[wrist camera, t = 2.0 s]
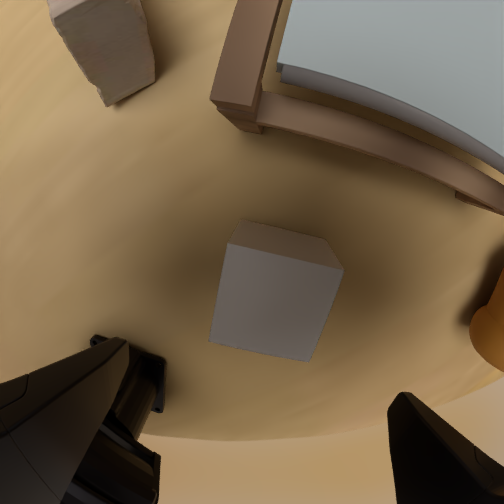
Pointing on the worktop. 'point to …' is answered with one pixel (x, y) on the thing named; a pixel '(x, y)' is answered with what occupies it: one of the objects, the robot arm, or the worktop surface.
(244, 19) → the stand
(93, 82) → the grey block
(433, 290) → the worktop surface
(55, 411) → the robot arm
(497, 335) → the ornamental finial
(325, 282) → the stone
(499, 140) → the trapdoor
